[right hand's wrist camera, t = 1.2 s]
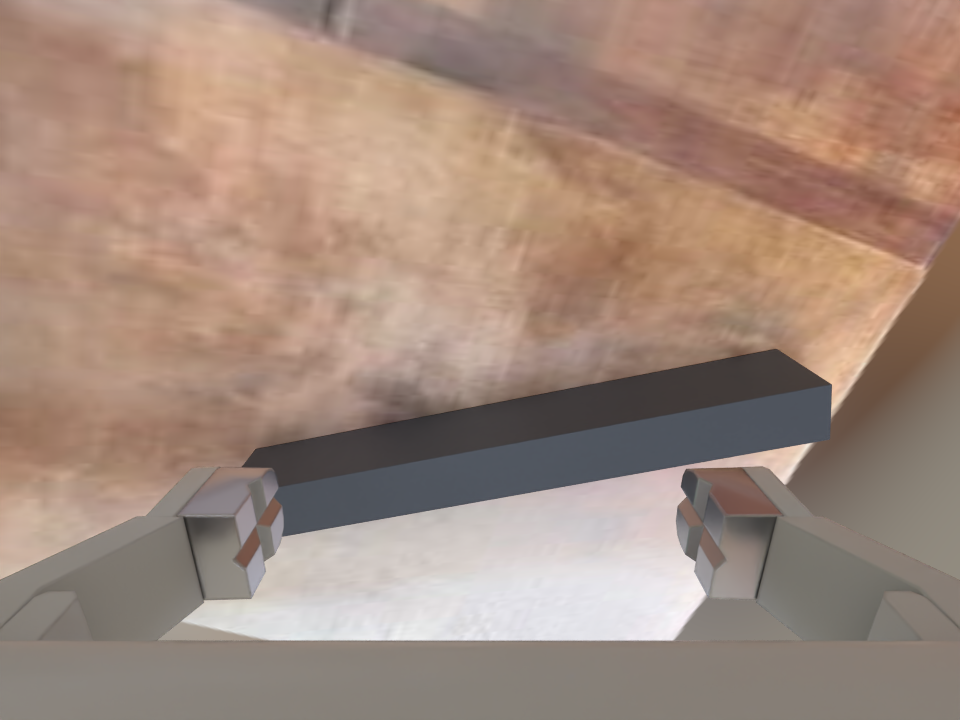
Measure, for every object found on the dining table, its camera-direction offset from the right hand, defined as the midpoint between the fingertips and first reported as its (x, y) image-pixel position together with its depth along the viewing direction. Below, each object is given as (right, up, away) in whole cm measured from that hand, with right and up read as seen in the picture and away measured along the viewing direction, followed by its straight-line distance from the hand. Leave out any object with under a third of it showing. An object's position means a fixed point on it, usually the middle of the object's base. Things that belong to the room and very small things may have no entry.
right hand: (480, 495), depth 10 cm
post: (+3, -4, +44) cm, 45 cm away
